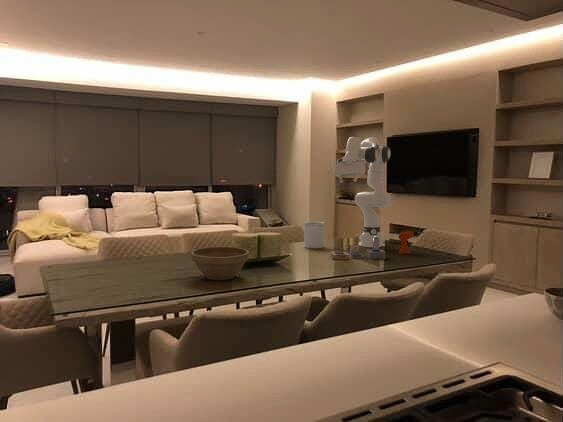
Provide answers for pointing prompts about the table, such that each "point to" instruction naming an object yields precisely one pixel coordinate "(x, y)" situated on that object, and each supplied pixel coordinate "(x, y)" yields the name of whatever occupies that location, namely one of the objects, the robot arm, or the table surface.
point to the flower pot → (219, 261)
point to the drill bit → (376, 244)
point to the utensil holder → (314, 234)
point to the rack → (339, 255)
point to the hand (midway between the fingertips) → (348, 181)
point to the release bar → (354, 250)
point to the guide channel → (356, 257)
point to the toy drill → (406, 241)
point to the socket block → (376, 254)
